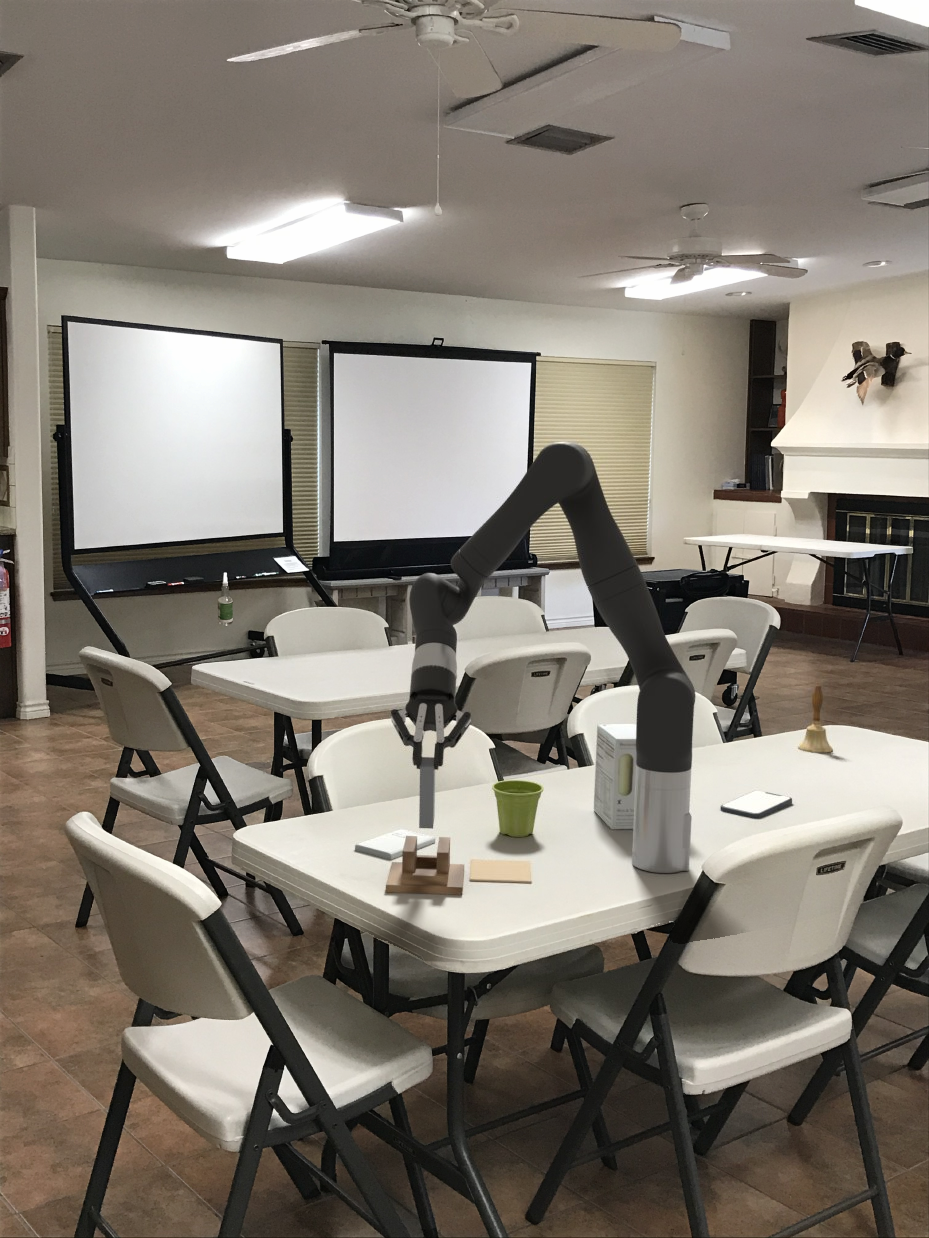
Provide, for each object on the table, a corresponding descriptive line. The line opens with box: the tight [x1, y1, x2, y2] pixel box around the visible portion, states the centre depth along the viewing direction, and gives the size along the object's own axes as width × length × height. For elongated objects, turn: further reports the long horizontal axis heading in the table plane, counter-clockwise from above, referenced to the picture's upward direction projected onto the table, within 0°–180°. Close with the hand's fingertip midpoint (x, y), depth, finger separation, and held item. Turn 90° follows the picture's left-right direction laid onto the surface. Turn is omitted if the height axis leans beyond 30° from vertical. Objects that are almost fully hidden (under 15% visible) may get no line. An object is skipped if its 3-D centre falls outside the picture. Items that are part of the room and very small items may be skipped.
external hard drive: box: [354, 829, 436, 860], centre depth 209 cm, size 2×8×12 cm
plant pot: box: [491, 779, 544, 838], centre depth 218 cm, size 9×9×9 cm
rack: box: [385, 836, 465, 896], centre depth 191 cm, size 12×11×6 cm
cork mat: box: [469, 858, 533, 884], centre depth 197 cm, size 10×10×1 cm
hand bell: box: [797, 684, 834, 754], centre depth 293 cm, size 8×8×16 cm
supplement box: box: [593, 723, 636, 830], centre depth 228 cm, size 13×13×18 cm
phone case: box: [719, 790, 793, 819], centre depth 240 cm, size 9×2×16 cm
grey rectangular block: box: [418, 756, 436, 829], centre depth 190 cm, size 2×4×10 cm, turn 178°
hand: (427, 766), depth 187 cm, fingers closed on grey rectangular block, 2 cm apart
